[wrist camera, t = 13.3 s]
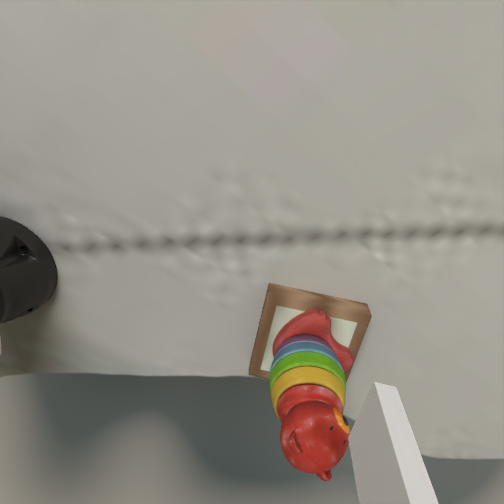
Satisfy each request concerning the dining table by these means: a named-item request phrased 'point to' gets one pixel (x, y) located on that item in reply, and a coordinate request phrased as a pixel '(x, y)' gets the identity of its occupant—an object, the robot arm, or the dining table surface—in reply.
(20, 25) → the dining table surface
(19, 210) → the dining table surface
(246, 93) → the dining table surface
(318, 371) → the stacking bear
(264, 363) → the picture frame
